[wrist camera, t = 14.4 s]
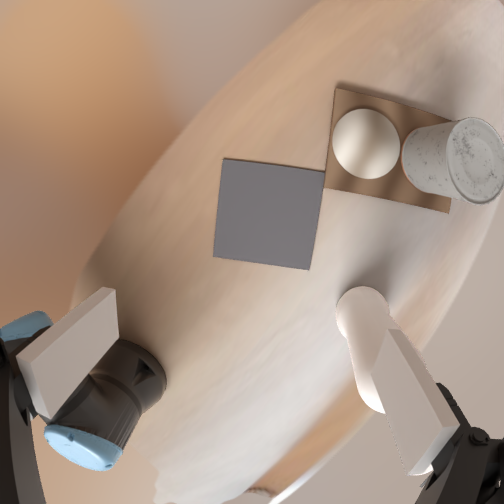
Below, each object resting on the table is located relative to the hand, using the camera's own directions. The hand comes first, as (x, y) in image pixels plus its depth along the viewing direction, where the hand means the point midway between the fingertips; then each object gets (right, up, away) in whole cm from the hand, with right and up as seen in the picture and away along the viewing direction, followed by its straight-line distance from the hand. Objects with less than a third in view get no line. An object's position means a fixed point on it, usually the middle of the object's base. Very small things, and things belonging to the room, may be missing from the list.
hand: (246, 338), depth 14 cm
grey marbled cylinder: (+25, +17, +23) cm, 38 cm away
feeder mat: (+2, +9, +29) cm, 30 cm away
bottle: (+17, -5, +31) cm, 36 cm away
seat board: (+21, +18, +24) cm, 37 cm away
